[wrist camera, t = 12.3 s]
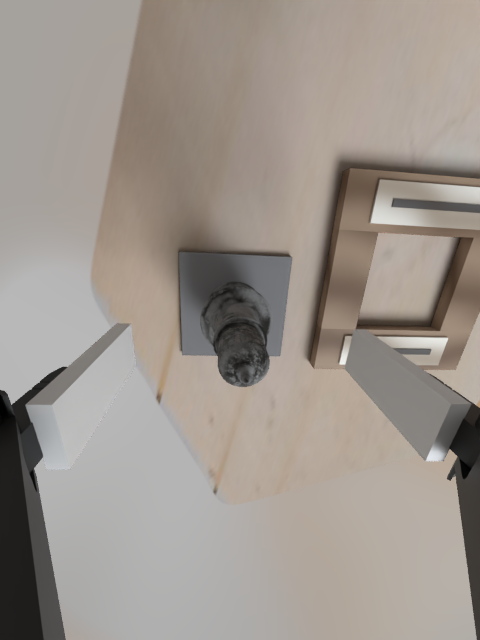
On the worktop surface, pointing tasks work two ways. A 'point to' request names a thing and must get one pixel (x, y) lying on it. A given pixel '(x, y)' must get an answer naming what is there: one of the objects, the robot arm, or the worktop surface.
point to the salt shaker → (238, 332)
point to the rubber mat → (216, 269)
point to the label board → (357, 251)
